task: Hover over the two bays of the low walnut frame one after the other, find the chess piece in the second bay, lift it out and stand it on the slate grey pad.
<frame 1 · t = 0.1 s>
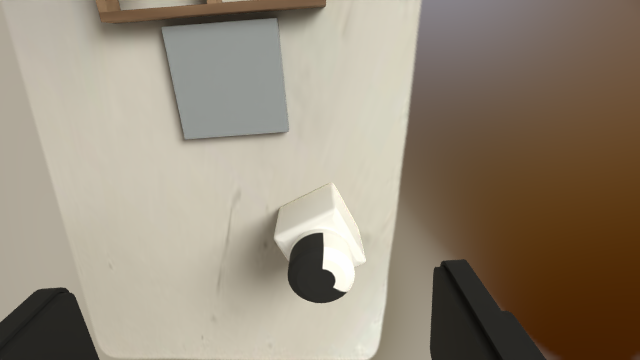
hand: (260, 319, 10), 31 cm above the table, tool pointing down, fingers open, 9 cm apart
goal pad: (230, 81, 37), on the table
medicine bottle: (319, 217, 43), on the table
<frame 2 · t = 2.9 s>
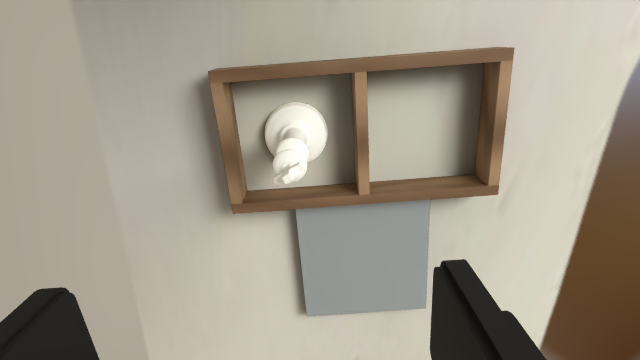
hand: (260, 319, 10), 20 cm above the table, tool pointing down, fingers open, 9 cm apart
chess piece: (296, 133, 29), resting in bay frame
bay frame: (358, 129, 28), on the table
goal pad: (363, 255, 33), on the table
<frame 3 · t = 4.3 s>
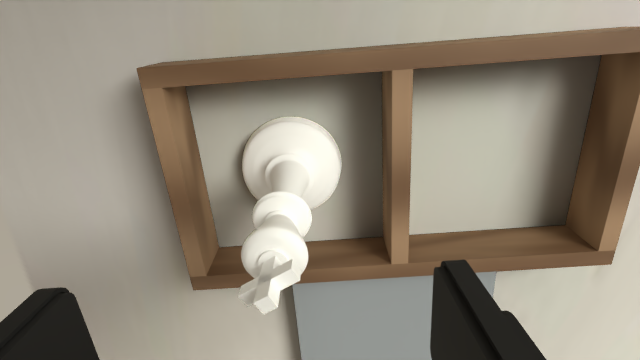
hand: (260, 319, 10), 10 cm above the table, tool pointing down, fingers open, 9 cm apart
chess piece: (292, 163, 18), resting in bay frame
bay frame: (390, 158, 18), on the table
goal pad: (390, 333, 22), on the table
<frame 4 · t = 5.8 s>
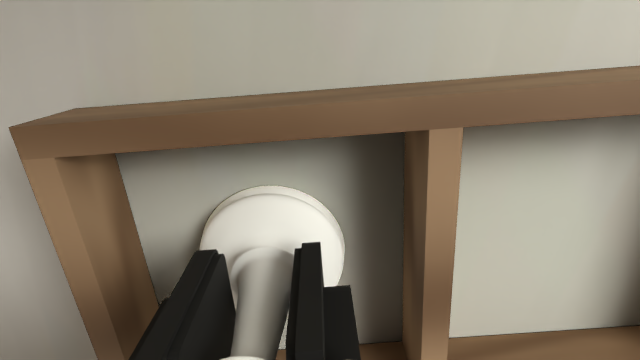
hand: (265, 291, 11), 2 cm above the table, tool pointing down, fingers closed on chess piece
chess piece: (274, 247, 13), resting in bay frame, touching gripper
bay frame: (415, 240, 13), on the table
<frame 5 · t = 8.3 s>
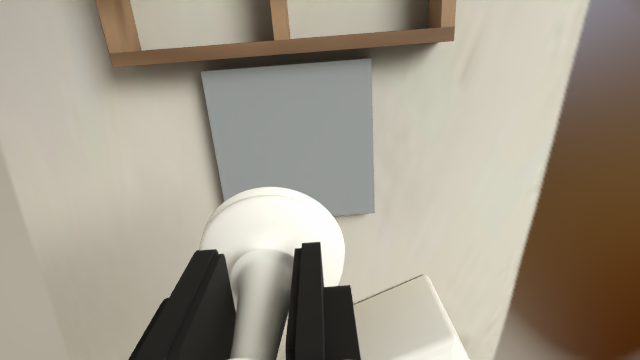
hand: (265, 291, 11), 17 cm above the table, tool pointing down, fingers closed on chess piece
chess piece: (274, 248, 13), point 14 cm above the table, touching gripper
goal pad: (294, 143, 26), on the table
medicine bottle: (402, 316, 32), on the table
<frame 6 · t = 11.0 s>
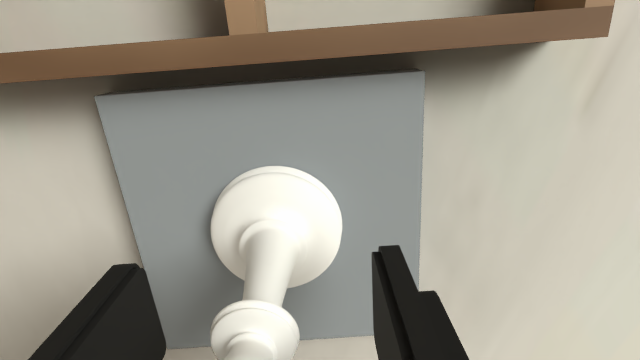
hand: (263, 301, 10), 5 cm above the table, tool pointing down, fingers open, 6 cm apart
chess piece: (278, 223, 14), point 1 cm above the table, touching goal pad
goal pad: (279, 218, 15), on the table
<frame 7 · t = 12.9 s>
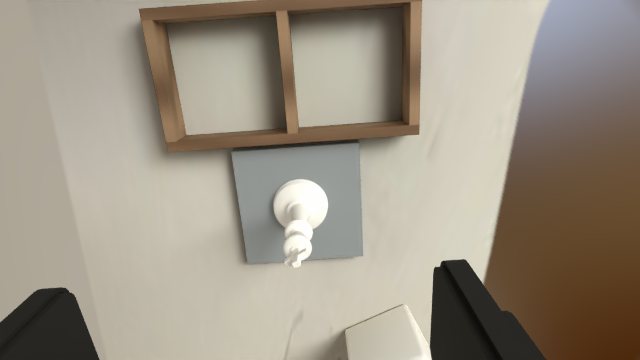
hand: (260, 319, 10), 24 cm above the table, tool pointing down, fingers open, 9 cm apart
chess piece: (300, 204, 33), point 1 cm above the table, touching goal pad
bay frame: (289, 74, 30), on the table
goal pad: (300, 202, 34), on the table
medicine bottle: (387, 338, 39), on the table
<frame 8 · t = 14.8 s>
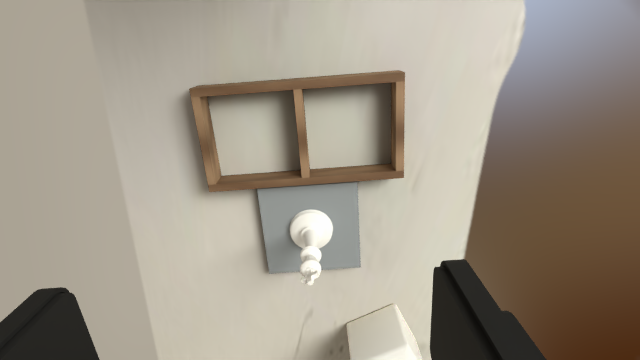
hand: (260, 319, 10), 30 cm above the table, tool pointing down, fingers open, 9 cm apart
chess piece: (311, 227, 42), point 1 cm above the table, touching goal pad
bay frame: (302, 129, 39), on the table
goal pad: (311, 225, 43), on the table
medicine bottle: (380, 330, 49), on the table
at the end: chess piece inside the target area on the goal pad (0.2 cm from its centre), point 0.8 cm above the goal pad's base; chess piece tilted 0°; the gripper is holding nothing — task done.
